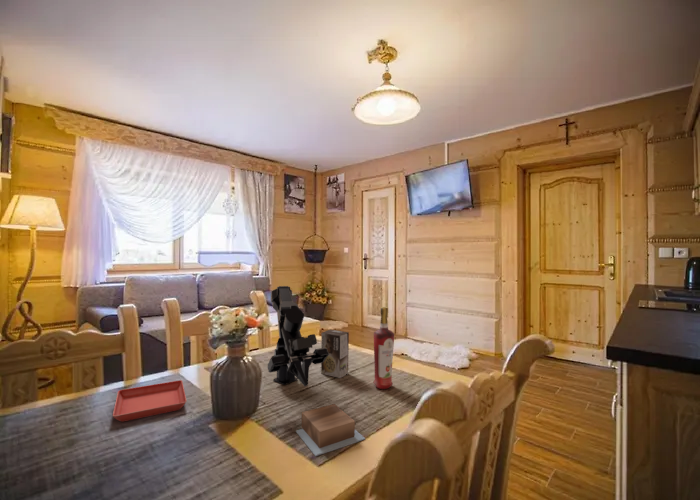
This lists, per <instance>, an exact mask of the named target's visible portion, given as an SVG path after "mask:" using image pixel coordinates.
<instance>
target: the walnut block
mask: <svg viewBox="0 0 700 500" xmlns="http://www.w3.org/2000/svg"><path fill="white" fill-rule="evenodd" d="M355 424H356V422H355V420H354V419H353V418H352V417H350V416H349V414H347V413H346V412H345V411H343V410H342V409H341V408H340V407H339V406H338V405H336V404H335V403H333V404H332V403H331V404H328V405H324V406H321V407H317V408H313V409H312V408H311V409H309V410H306V411H305V410H304V411H302V412H301V429H304V431H305V432H306V433H307V434H308V435H309V437H310V438H311V439H312V440H313V441H314V442H315V444H316V445H317V446H318V447H319V448H322V447H325V446H328V445H331V444H334V443H337V442H340V441H343V440H346V439H349V438H352V437H355V430H356V429H355V427H356V425H355Z"/></svg>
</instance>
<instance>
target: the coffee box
mask: <svg viewBox="0 0 700 500" xmlns="http://www.w3.org/2000/svg"><path fill="white" fill-rule="evenodd" d="M349 333H350V332H349V331H341V330H336V329H328V330H326V331H322V332H321V341H320V342H321V347H320V348H326V349H327V350H328V353H329V355H328V357H327V358H326V360H325V361H324V362H323V363H320V365H321V367H320V368H321V371H320V372H321V374H323V375H326V376H329V377H330V376H331V377H334V378H337V379H342V377H345V376H347V375H349V347H350V346H349V344H350V343H349V342H350V337H349V335H350V334H349ZM346 374H347V375H346Z"/></svg>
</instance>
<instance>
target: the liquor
mask: <svg viewBox="0 0 700 500" xmlns="http://www.w3.org/2000/svg"><path fill="white" fill-rule="evenodd" d="M388 313H389V307H387V306H381V307H380V323H379V329H377V330H375V331H374V332H373V350H374V351H373V357H374V360H373V361H374V380H373V383H372V384H373V385H374V386H375V387H376V388H377V389H379V390H388V389H389V388H390V387H392V386H393V383H394V382H393V381H392V379H393V378H392V376H393V359H394V347H395V346H394V345H395V333H394V331H392V330H391V329H389V320H388V317H389V316H388V315H389V314H388Z"/></svg>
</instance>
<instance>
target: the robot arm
mask: <svg viewBox="0 0 700 500" xmlns="http://www.w3.org/2000/svg"><path fill="white" fill-rule="evenodd" d="M270 303H272V305H271V306H272V308H273V310H275V311H276V313H277V314H276V315H277V325H278V337H279V338H278V339H277V341H276V346H275V347H276V348H274V351H273V352H274V353H273V355H271V357H270V360H269V361H268V363H267V370H268V372H269V374H271V373H274V372H275V373H276V377H275V378H273V379H272V380H273V381H274V382H276V383H279V384H281V385H283V386H284V385H288V384H291V383H293V382H295V381H299V382H300V383H301V384H302V385H303V386H304V387H308V385H309V374H310V373H309V372H310V366H311V365H312V364H313V365H317V364H321V363H323V362H324V361H325V360H326V358H327V357H328V355H329V353H328V350H327V349H326V348H321V347H319V348H315V349H314V351H313V352H312V353H309V352H310V348H311V349H313V346H315V345H317V344H318V340H317V337H316V335H315V334H314V333H313V334H309V335H307V337H304V336H302V333H301V330H302V325H303V323H304V322H303V321H304V318H305V313H304V312H303V311H302V310H301V308H300V307H299V305H298V303H296V302H294V301H293V289H291V287H290V286H289V285H283V286H282V285H281V286H280V285H279V286H277V287H276V288H275V289H273V290H272V291H271V292H270Z"/></svg>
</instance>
